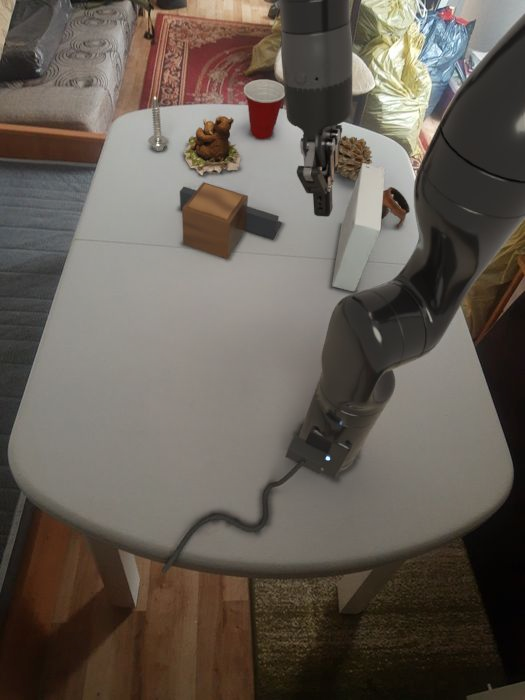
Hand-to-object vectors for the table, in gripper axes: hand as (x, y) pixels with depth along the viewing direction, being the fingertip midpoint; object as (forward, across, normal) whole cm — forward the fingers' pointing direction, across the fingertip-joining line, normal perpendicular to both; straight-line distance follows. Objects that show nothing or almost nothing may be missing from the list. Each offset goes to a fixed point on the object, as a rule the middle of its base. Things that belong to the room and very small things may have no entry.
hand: (323, 213), depth 65 cm
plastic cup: (+19, +66, +35) cm, 78 cm away
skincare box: (+28, +28, +3) cm, 40 cm away
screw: (+14, +47, +55) cm, 74 cm away
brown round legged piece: (+29, +44, -1) cm, 53 cm away
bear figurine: (+18, +49, +42) cm, 67 cm away
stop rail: (+21, +29, +29) cm, 47 cm away
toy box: (+21, +21, +30) cm, 43 cm away
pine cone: (+25, +62, +12) cm, 68 cm away
